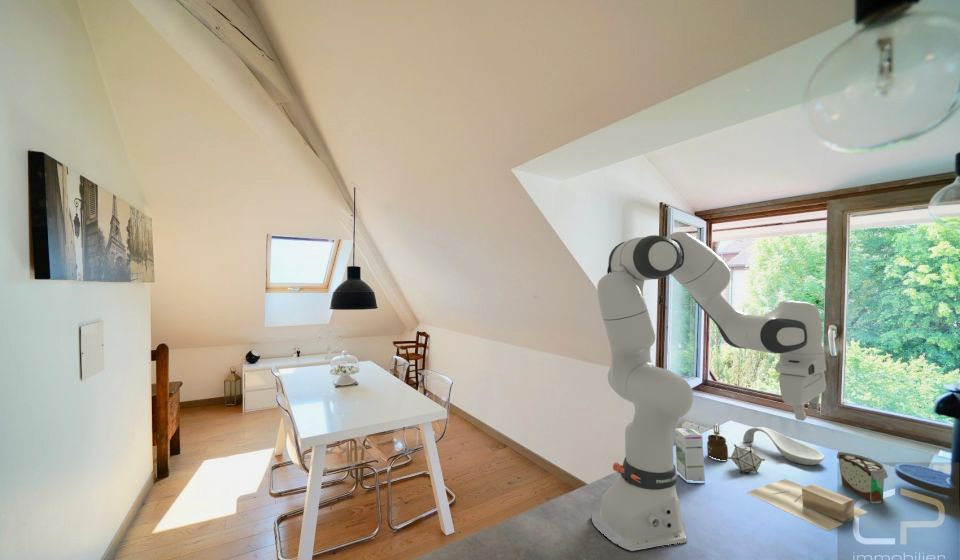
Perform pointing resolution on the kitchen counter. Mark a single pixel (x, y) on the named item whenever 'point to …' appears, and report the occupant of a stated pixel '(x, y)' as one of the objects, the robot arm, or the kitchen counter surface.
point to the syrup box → (689, 454)
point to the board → (796, 503)
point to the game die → (746, 459)
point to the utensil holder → (717, 446)
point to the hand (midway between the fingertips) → (807, 414)
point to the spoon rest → (788, 447)
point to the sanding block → (828, 503)
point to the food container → (862, 476)
